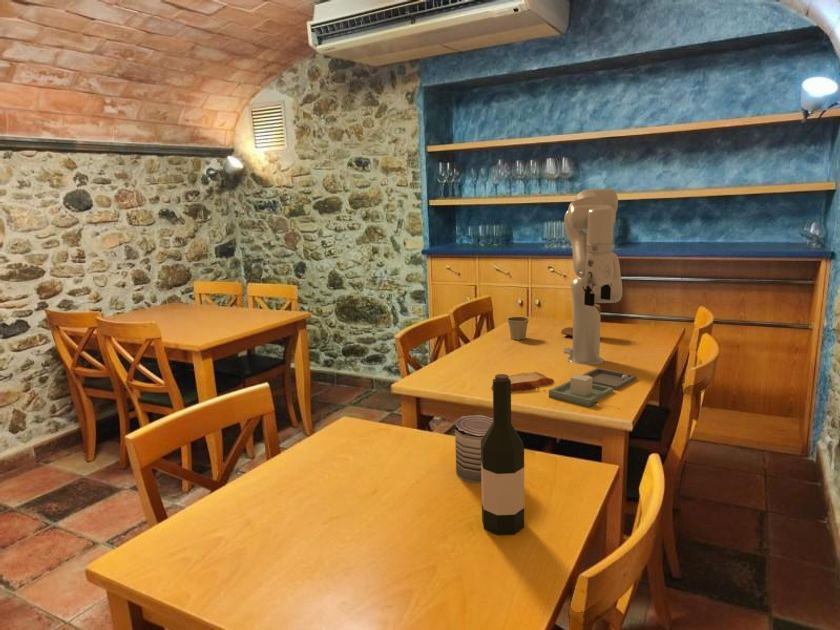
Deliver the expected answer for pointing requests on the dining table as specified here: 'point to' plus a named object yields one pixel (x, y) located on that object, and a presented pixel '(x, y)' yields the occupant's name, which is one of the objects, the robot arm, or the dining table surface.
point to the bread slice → (528, 381)
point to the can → (470, 445)
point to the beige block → (581, 385)
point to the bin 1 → (590, 400)
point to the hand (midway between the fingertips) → (597, 302)
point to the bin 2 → (610, 378)
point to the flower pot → (518, 327)
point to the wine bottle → (502, 467)
